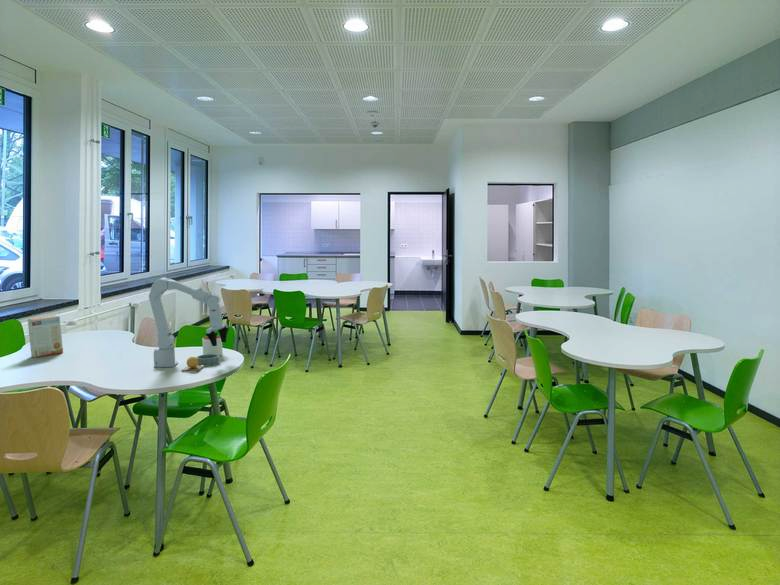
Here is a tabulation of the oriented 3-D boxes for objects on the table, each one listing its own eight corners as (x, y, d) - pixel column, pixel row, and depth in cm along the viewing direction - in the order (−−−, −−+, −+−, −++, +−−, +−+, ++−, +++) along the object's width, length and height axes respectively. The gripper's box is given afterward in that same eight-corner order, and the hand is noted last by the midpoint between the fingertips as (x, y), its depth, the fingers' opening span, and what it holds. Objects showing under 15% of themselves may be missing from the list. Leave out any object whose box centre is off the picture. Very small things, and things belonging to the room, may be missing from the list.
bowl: (193, 365, 266) (193, 359, 266) (201, 360, 277) (201, 354, 276) (214, 365, 266) (214, 359, 266) (221, 360, 277) (221, 354, 276)
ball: (185, 369, 257) (184, 358, 256) (189, 366, 262) (188, 355, 262) (196, 369, 257) (195, 358, 256) (200, 366, 262) (200, 355, 262)
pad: (181, 371, 256) (181, 370, 256) (188, 367, 264) (188, 365, 264) (198, 371, 256) (197, 370, 256) (204, 367, 264) (204, 365, 263)
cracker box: (58, 351, 300) (55, 315, 297) (63, 353, 296) (60, 316, 294) (30, 356, 288) (27, 318, 286) (35, 358, 285) (32, 319, 282)
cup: (216, 358, 282) (215, 340, 280) (199, 357, 284) (198, 339, 282) (226, 354, 291) (225, 336, 290) (209, 353, 293) (208, 335, 292)
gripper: (213, 320, 261) (216, 347, 263) (230, 314, 275) (234, 340, 276) (201, 321, 263) (205, 347, 265) (219, 315, 277) (223, 340, 279)
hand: (219, 344), depth 271 cm, fingers open, 7 cm apart
